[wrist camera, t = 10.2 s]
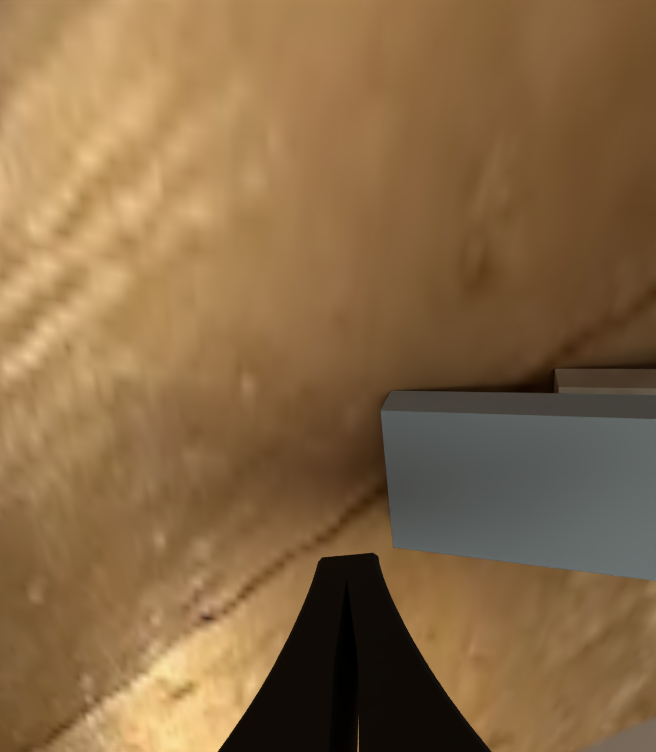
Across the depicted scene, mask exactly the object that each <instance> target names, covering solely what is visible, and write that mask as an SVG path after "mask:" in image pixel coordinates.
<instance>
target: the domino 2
mask: <svg viewBox="0 0 656 752" xmlns="http://www.w3.org/2000/svg"><path fill="white" fill-rule="evenodd" d="M554 393H566V394H626V395H656V369H555V375H554Z"/></svg>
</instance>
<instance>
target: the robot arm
mask: <svg viewBox="0 0 656 752" xmlns="http://www.w3.org/2000/svg"><path fill="white" fill-rule="evenodd" d="M358 717H359V752H491V751H490V749H489V748H488V747H487V746H486V744H485V743H484V742H483V741H482V739H481V738H480V737H479V736H478V735H477V733H476V732H475V731H474V730H473V728H472V727H471V726H470V725H469V723H468V722H467V721H466V719H465V718H464V717H463V715H462V714H461V713H460V711H459V710H458V709H457V707H456V706H455V704H454V703H453V702H452V700H451V699H450V698H449V696H448V695H447V693H446V692H445V690H444V689H443V687H442V686H441V684H440V683H439V682H438V680H437V679H436V677H435V675H434V674H433V672H432V671H431V669H430V668H429V666H428V664H427V663H426V661H425V660H424V658H423V656H422V655H421V653H420V651H419V650H418V648H417V646H416V644H415V643H414V641H413V639H412V637H411V636H410V634H409V632H408V630H407V628H406V626H405V624H404V622H403V620H402V618H401V616H400V614H399V612H398V610H397V608H396V606H395V604H394V602H393V600H392V598H391V595H390V593H389V590H388V588H387V585H386V583H385V580H384V577H383V574H382V571H381V568H380V564H379V558H378V556H377V555H376V554H374V553H366V554H355V555H344V556H334V557H323V558H321V559H320V561H319V562H318V565H317V568H316V572H315V575H314V578H313V581H312V584H311V586H310V589H309V592H308V594H307V597H306V599H305V602H304V604H303V606H302V609H301V611H300V613H299V615H298V618H297V620H296V622H295V624H294V627H293V629H292V631H291V633H290V635H289V637H288V639H287V641H286V643H285V645H284V647H283V649H282V651H281V653H280V654H279V656H278V658H277V660H276V662H275V664H274V666H273V668H272V670H271V671H270V673H269V675H268V676H267V678H266V680H265V682H264V683H263V685H262V687H261V688H260V690H259V692H258V693H257V695H256V696H255V698H254V700H253V701H252V703H251V704H250V706H249V708H248V709H247V711H246V712H245V714H244V715H243V716H242V718H241V719H240V721H239V722H238V724H237V725H236V727H235V728H234V730H233V731H232V732H231V734H230V735H229V737H228V738H227V740H226V741H225V742H224V744H223V745H222V746H221V748H220V749H219V751H218V752H357V746H358Z"/></svg>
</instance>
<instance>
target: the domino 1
mask: <svg viewBox="0 0 656 752" xmlns="http://www.w3.org/2000/svg"><path fill="white" fill-rule="evenodd" d="M381 421H382V432H383V443H384V454H385V464H386V475H387V486H388V497H389V508H390V519H391V530H392V540H393V548H401V549H409V550H417V551H425V552H432V553H440V554H448V555H456V556H464V557H472V558H480V559H488V560H496V561H504V562H512V563H520V564H527V565H535V566H543V567H551V568H559V569H567V570H575V571H583V572H591V573H599V574H607V575H615V576H622V577H630V578H638V579H646V580H654V581H656V395H626V394H566V393H506V392H446V391H391V392H390V394H389V396H388V397H387V399H386V401H385V403H384V405H383V407H382V409H381Z"/></svg>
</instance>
